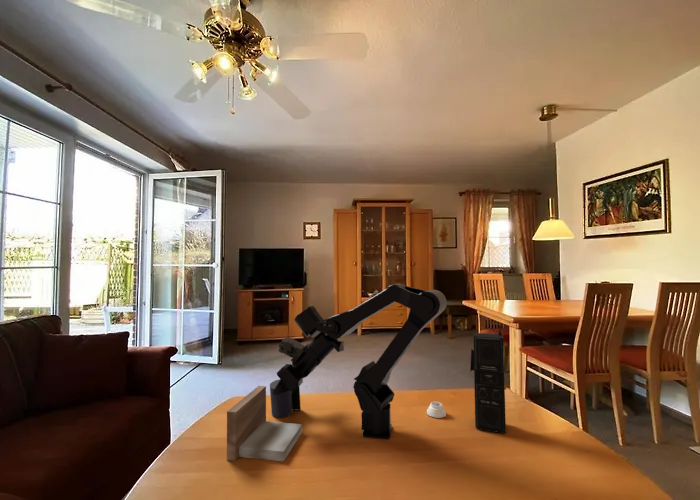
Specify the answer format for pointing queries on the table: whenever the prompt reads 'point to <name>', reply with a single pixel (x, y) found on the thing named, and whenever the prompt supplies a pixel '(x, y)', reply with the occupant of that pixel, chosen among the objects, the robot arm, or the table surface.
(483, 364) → the portable radio
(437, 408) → the lidless jar
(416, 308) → the robot arm
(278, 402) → the dark grey mug
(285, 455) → the wall board
